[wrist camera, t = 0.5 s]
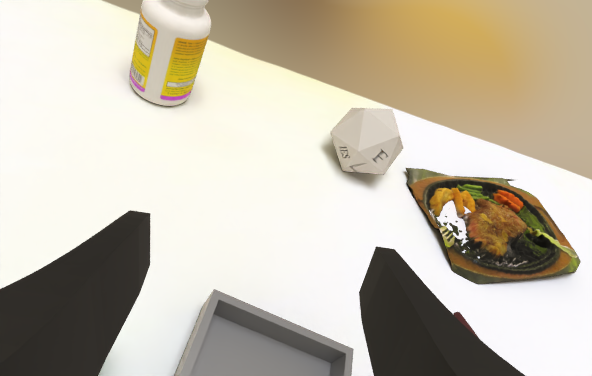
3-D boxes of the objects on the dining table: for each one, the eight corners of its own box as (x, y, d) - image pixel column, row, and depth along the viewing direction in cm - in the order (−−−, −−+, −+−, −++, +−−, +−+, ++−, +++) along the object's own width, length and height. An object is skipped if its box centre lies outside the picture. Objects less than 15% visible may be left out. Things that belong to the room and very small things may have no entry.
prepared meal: (480, 275, 44) (415, 155, 53) (457, 288, 46) (398, 170, 56) (592, 271, 58) (524, 177, 68) (570, 281, 61) (507, 189, 70)
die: (306, 154, 50) (365, 147, 42) (331, 99, 53) (391, 82, 45) (347, 187, 54) (407, 186, 46) (368, 135, 57) (428, 125, 49)
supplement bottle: (196, 87, 47) (230, -14, 39) (177, 117, 42) (210, 10, 34) (143, 61, 46) (166, -49, 37) (116, 89, 41) (136, -30, 32)
